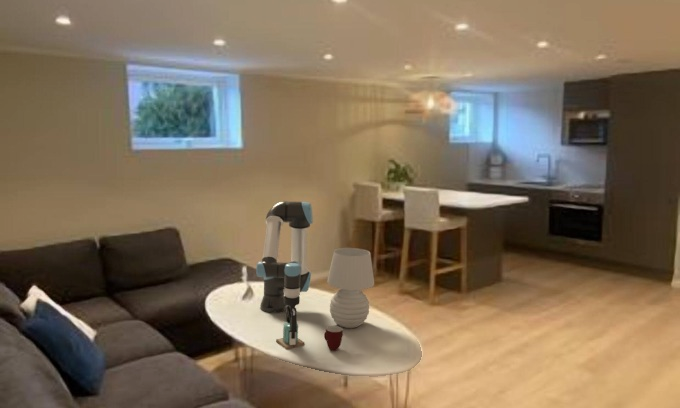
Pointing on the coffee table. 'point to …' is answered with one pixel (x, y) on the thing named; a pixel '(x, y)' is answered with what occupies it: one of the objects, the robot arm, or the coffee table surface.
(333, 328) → the mug
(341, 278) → the table lamp
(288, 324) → the cap
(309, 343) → the coffee table surface
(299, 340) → the post base
